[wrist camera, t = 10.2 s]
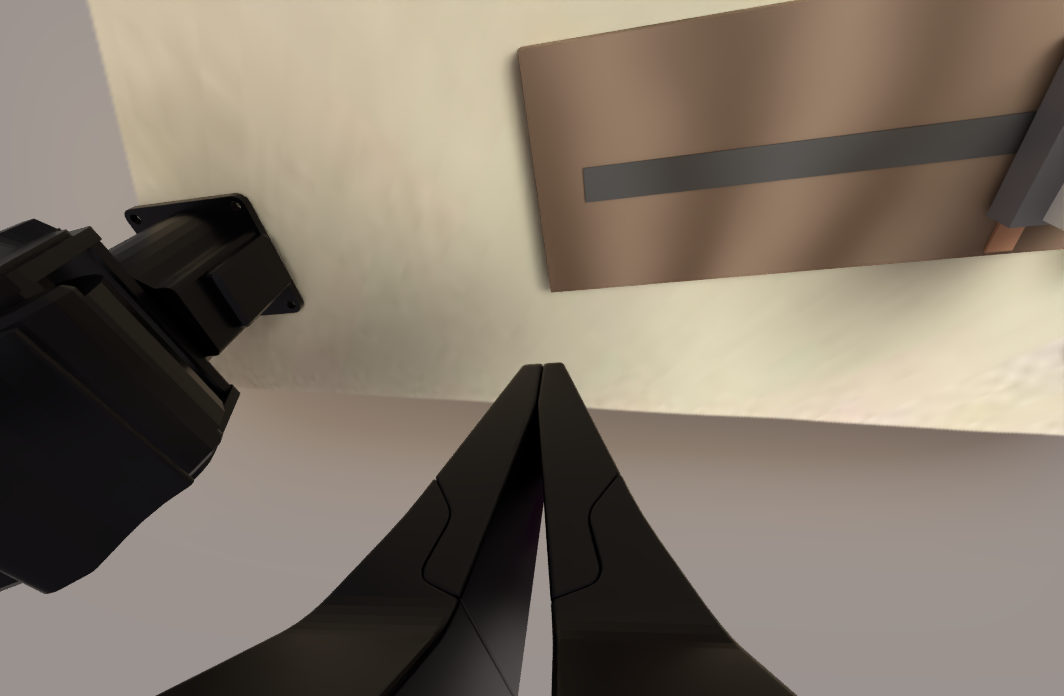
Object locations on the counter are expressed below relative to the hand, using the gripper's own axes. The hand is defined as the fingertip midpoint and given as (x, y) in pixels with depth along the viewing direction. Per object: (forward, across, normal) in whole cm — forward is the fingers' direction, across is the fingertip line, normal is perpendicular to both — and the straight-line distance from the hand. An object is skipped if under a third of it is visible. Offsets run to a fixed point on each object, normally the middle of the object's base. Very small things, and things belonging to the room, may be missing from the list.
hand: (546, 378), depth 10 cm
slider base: (+13, -12, 0) cm, 18 cm away
